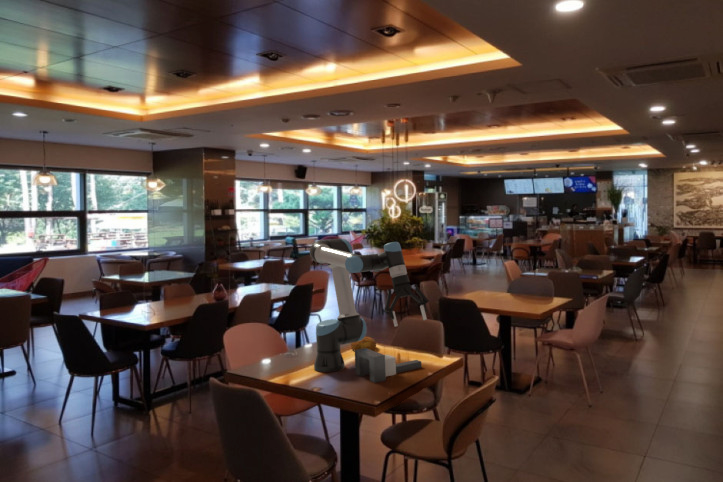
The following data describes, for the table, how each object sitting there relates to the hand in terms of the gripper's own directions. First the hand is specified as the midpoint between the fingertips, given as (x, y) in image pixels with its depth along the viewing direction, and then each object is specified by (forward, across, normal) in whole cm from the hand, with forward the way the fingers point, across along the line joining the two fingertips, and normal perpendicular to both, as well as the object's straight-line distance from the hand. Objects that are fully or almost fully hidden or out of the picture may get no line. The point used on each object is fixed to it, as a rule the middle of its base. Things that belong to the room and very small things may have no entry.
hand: (410, 323), depth 237 cm
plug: (+19, -2, +29) cm, 35 cm away
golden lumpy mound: (+5, -6, +75) cm, 76 cm away
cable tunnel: (+19, -18, +24) cm, 35 cm away
